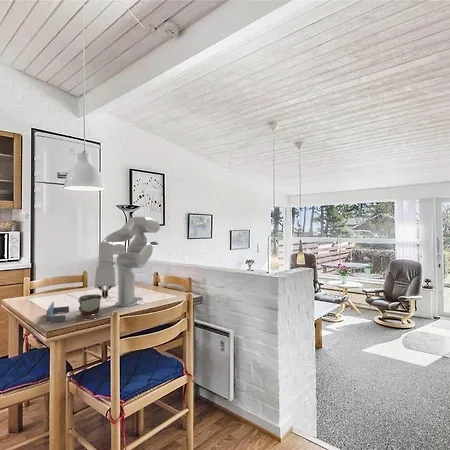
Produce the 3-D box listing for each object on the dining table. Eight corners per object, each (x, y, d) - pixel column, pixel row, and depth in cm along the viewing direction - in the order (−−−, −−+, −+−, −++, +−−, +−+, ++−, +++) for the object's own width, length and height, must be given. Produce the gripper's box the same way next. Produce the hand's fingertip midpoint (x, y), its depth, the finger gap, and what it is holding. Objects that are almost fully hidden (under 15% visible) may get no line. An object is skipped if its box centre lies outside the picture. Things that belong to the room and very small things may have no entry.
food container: (95, 311, 180) (95, 293, 180) (101, 313, 177) (101, 294, 177) (73, 315, 171) (73, 297, 171) (79, 318, 167) (79, 298, 167)
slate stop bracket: (69, 311, 179) (69, 300, 179) (65, 321, 161) (65, 309, 161) (52, 313, 176) (52, 302, 176) (46, 323, 158) (46, 310, 158)
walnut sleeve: (98, 308, 186) (98, 305, 186) (97, 318, 165) (97, 314, 165) (79, 310, 182) (79, 306, 182) (76, 320, 162) (76, 316, 162)
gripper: (119, 263, 183) (118, 296, 182) (91, 264, 178) (90, 297, 177) (120, 264, 176) (119, 298, 175) (90, 265, 171) (89, 300, 170)
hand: (104, 298), depth 176 cm, fingers closed
